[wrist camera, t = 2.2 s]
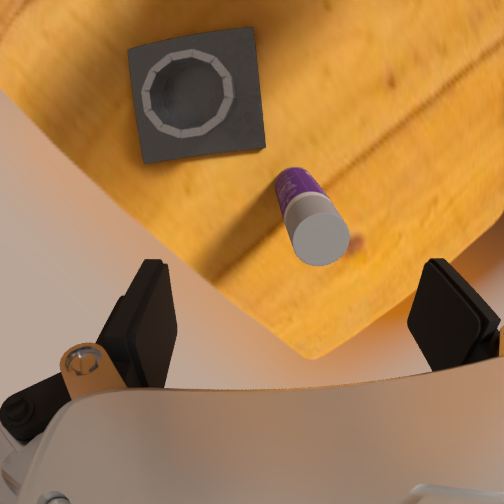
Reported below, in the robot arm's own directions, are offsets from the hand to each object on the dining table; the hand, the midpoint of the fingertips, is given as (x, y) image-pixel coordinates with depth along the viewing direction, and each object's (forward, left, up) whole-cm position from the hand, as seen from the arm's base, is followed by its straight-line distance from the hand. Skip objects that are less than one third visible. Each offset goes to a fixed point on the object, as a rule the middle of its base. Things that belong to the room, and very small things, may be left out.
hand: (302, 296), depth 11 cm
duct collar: (+7, -8, -27) cm, 29 cm away
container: (-3, +4, -27) cm, 28 cm away
